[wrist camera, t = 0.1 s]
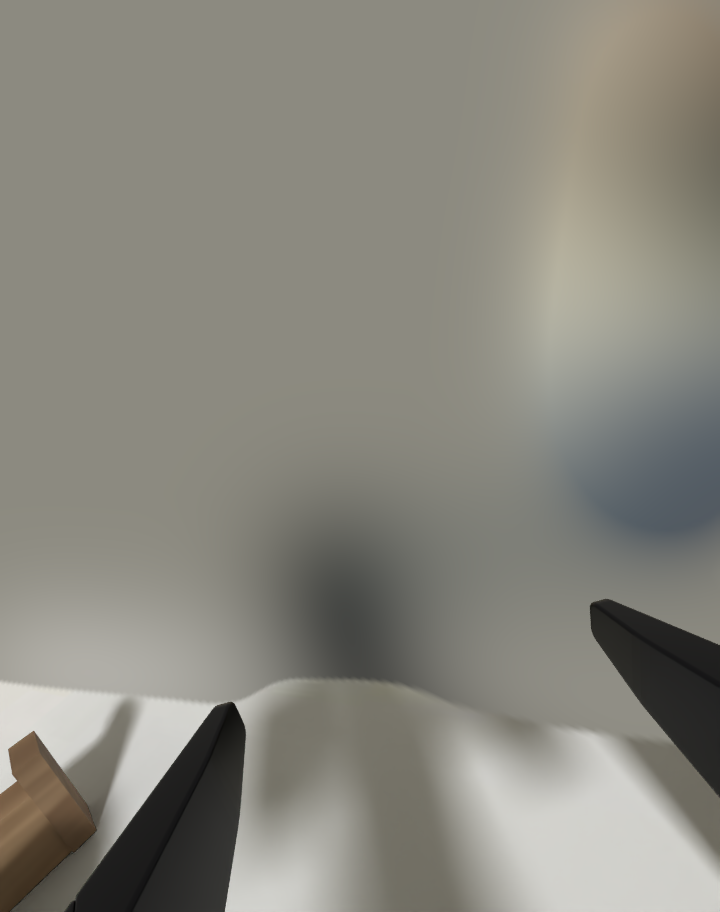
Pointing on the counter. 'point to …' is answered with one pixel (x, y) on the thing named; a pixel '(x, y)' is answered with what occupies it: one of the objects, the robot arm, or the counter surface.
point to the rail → (37, 820)
